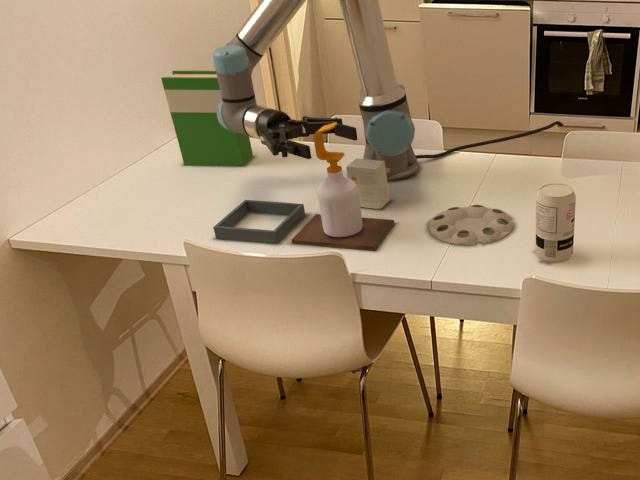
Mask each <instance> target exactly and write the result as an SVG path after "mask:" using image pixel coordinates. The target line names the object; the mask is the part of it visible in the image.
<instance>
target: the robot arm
mask: <svg viewBox="0 0 640 480" xmlns="http://www.w3.org/2000/svg"><path fill="white" fill-rule="evenodd" d="M306 1H307V0H260V2H259V3H258V4H257V6H255V8H254V9H253V11H252V12H251V14H250V15H249V16H248V18H247V19H246V20H245V21H244V23H243V24H242V26H241V27H240V28H239V30H238V31H237V33H235V35H234V36H233V38H232V39H231V40H230V41H229V42H228V43H226V44H225V45H223V46H219V47H217V48H215V49H213V51H212V59H213V68H214V71H216V74H217V78H218V83H219V87H220V91H221V95H222V102H221V103H220V104H219V106H218V111H217V118H218V121H219V123H220V124H221V125H222V126H223V127H224V128H225V129H227V130H230V131H232V132H234V133H236V134H242V135H246V136H249V138H253V139H256V140H259V141H260V144H262V145H264V146H266V148H267V149H268V150H269V152H270V153H271V155H272V156H274V157H277V156H279V154H280V153H281V157H282V158H287V157H288V156H289V155H293V156H295V157H299V158H302V159H306V160H312V153H311V152H312V151H311V147H310V145H308V144H304V143H301V142H297V141H294V139H298V138H308V137H309V136H310V135H314V134H315V133H316V132H317V131H318V130H319V129H320V128H322V127H323V126H325V125H328V124H331V123H335V122H337V123H338V124H337V125H336V126H335V127H334V128H333V129H331V130H328V131H325V132H322V134H323V135H326V134H327V135H329V134H332V135H333V134H334V136H336V137H340V138H344V139H347V140H351V141H358V140H359V139H358V132H357V127H355V126H351V125H347V124H344V123H343V119H342V118H340V117H339V118H338V117H315V116H314V117H312V116H306V115H303V116H302V117H301V118H302V119H300V120H299V119H298V120H297V119H292V118H291V117H290V115H288V113H286V112H284V111H282V110H278V109H275V108H272V107H267V106H263V105H258V103H257V99H256V94H255V90H254V89H255V88H254V84H253V83H254V82H253V77H252V75H253V71H254V69H255V67H256V66H257V65H258V63H259V62H260V61H261V59H262V58H263V57H264V56H265V54H266V53H267V52H268V50H269V49H270V48H271V46H272V45H273V44H274V42H275V41H276V40H277V38H278V37H279V36H280V35H281V34H282V32H283V31H284V29H286V28H287V26H288V24H289V23H290V22H291V21H292V19H293V18H294V17H295V16H296V14H297V13H298V12H299V10H300V9H301V8H302V6H303V5H304V4H305V3H306ZM338 2H339V6H340V11H341V15H342V18H343V23H344V26H345V27H344V28H345V30H346V35H347V39H348V42H349V46H350V50H351V55H352V57H353V62H354V66H355V69H356V73H357V78H358V82H359V85H360V89H359V98H358V100H357V103H358V107H359V111H360V115H361V119H362V123H363V131H364V133H363V134H364V139H365V146H364V151H363V156H362V159H368V160H379V161H385V167H386V175H387V182H388V181H397V180H402V179H406V178H409V177H412V176H413V175H415V174H416V173H417V172H418V170H419V162H418V160H419V159H437V158H441V157H445V156H447V155H449V154H452V153H455V152H457V151H463V150H466V149H470V148H476V147H482V146H486V145H491V144H496V143H502V142H506V141H507V142H508V141H511V140H515V139H519V138H523V137H526V136H531V135H534V134H537V133H541V132H543V131H546V130H549V129H551V128H553V127H555V126H559V127H564V123H562V122H561V121H559V120H557V121H553V122H552V123H549V124H548V125H545V126H541V127H539V128H536V129H533V130H530V131H525V132H522V133H518V134H514V135H509V136H505V137H500V138H495V139H490V140H484V141H480V142H475V143H468V144H464V145H459V146H455V147H453V148H451V149H448V150H445V151H442V152H439V153H434V154H415V151H414V148H413V146H412V145H413V142H414V139H415V132H416V129H415V124H414V122H413V120H412V116H411V111H410V107H409V103H408V99H407V98H408V97H407V92H406V87H405V85H404V84H403V83H401V82H397V77H396V73H395V69H394V65H393V64H394V63H393V60H392V59H393V58H392V55H391V50H390V46H389V42H388V37H387V34H386V29H385V24H384V19H383V15H382V11H381V6H380V2H379V0H338ZM303 128H304V129H303ZM304 131H305V132H304Z"/></svg>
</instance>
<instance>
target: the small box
mask: <svg viewBox="0 0 640 480" xmlns="http://www.w3.org/2000/svg"><path fill="white" fill-rule="evenodd" d="M345 167H346V175H347V178H349V179H350V180H352V181H353V182H355V184H356V186H357V188H358V193H359V200H360V208H365V209H376V210H381V209H382V208H384V207H385V206H386V204H387V203H389V202H390V199H391V198H390V193H389V191H390V190H389V185H388V181H387V175H386V167H385V161H379V160H368V159H363V158H355V159H354V160H353V161H351V162H350V163H349V164H348V165H346V166H345Z"/></svg>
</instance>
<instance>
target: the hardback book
mask: <svg viewBox="0 0 640 480" xmlns="http://www.w3.org/2000/svg"><path fill="white" fill-rule="evenodd" d="M171 72H172V75H171V76H163V77H161V78H160V79H161V83H162V86H163V90H164V94H165V97H166V102H167V105H168V109H169V113H170V118H171V120H172V125H173V128H174V131H175V135H176V139H177V142H178V143H177V144H178V146H179V151H180V154H181V157H182V161H183V165H184V166H202V167H203V166H205V167H206V166H207V167H208V166H209V167H245V166H246V165H247V164H248V163H249V162H250V161H252V159H253V158H254V154H253V148H252V144H251V139H250V136H246V135H242V134H236V133H234V132H232V131H230V130H227V129H225V128H224V127H223V126H222V125H221V124H220V123H219V121H218V118H217V111H218V106H219V104H220V103H221V102H222V95H221V91H220V87H219V83H218V78H217V74H216V70H172V71H171Z"/></svg>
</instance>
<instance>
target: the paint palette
mask: <svg viewBox="0 0 640 480" xmlns="http://www.w3.org/2000/svg"><path fill="white" fill-rule="evenodd" d="M498 221H500V222H502V223H504V224H502V223H499V222H498ZM445 227H446V229H445V230H442V231H439V230H440V229H442V228H445ZM513 227H514V225H513V222H511V218H510V216H508V214H507V213H506V212H505V211H504V210H501V209H498V208H493V209H490V208H487V207H486V206H484V205H482V204H472V205H470V206H468V207H463V208H462V207H459V206H452V207H449V208H447V209H446V210H445V211H444V212H443V213H441V214H439V215H436V216H434V217H433V218H432V219H431V220H430V221H429V232H430V234H431V235H432V237H434V238H435V239H437V240H439V241H441V242H443V243H447V244H451V245H456V246H475V245H476V244H478V243H481V244H482V245H484V244H490V243H494V242H496V241H499V240H501V239H503V238H504V237H506V236H508V234H510V233H511V232H512V231H513ZM491 230H493V231H494V233H493V234H491V235H490V234H486V233H484V232H488V231H491ZM463 234H465V235H466V234H467V235H468V236H465V237H459V236H458V235H463Z"/></svg>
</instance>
